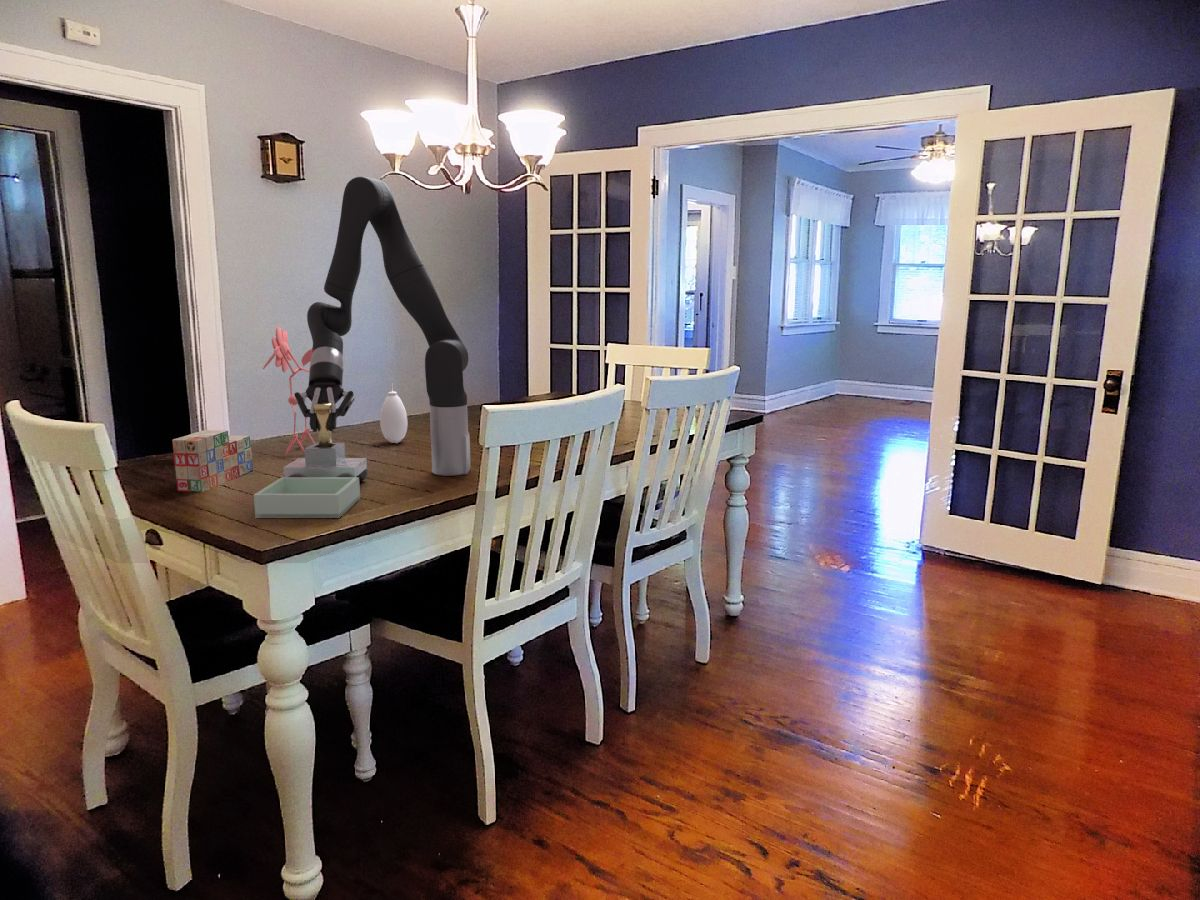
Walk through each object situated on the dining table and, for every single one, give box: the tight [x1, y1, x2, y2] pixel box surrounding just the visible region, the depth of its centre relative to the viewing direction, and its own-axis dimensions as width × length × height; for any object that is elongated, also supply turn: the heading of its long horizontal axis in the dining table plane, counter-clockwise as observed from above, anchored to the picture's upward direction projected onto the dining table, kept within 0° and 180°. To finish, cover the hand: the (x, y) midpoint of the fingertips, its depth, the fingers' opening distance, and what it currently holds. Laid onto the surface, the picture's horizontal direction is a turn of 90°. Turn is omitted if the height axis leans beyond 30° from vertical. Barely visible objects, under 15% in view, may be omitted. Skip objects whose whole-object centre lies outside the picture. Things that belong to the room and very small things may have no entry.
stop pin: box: [311, 403, 333, 447], centre depth 186 cm, size 4×4×12 cm
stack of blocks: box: [171, 429, 254, 493], centre depth 195 cm, size 21×6×12 cm, turn 172°
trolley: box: [282, 442, 369, 483], centre depth 188 cm, size 16×13×10 cm
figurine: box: [262, 326, 316, 456], centre depth 226 cm, size 15×26×35 cm, turn 0°
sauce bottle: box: [379, 383, 408, 444], centre depth 240 cm, size 8×8×18 cm
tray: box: [253, 476, 361, 519], centre depth 171 cm, size 17×15×5 cm
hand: (322, 429), depth 185 cm, fingers closed on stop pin, 3 cm apart
